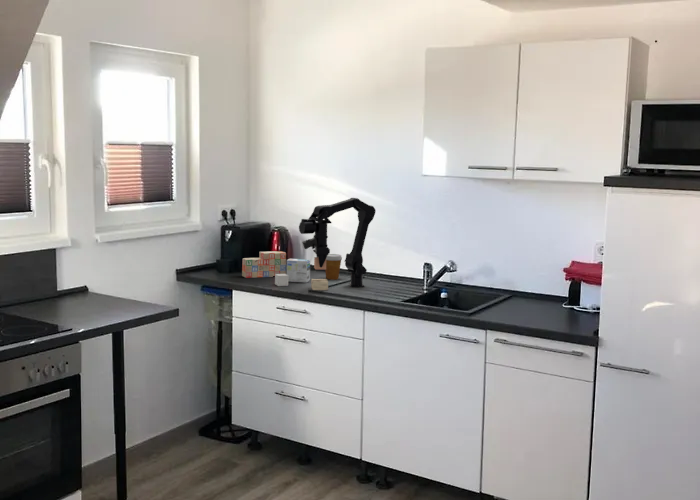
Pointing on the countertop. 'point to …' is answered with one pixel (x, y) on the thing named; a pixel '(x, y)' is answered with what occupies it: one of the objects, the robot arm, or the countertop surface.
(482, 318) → the countertop surface
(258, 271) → the stack of blocks
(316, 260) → the terracotta cube
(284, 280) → the white cube
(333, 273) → the disposable coffee cup
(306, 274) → the light bulb box
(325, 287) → the birch block
